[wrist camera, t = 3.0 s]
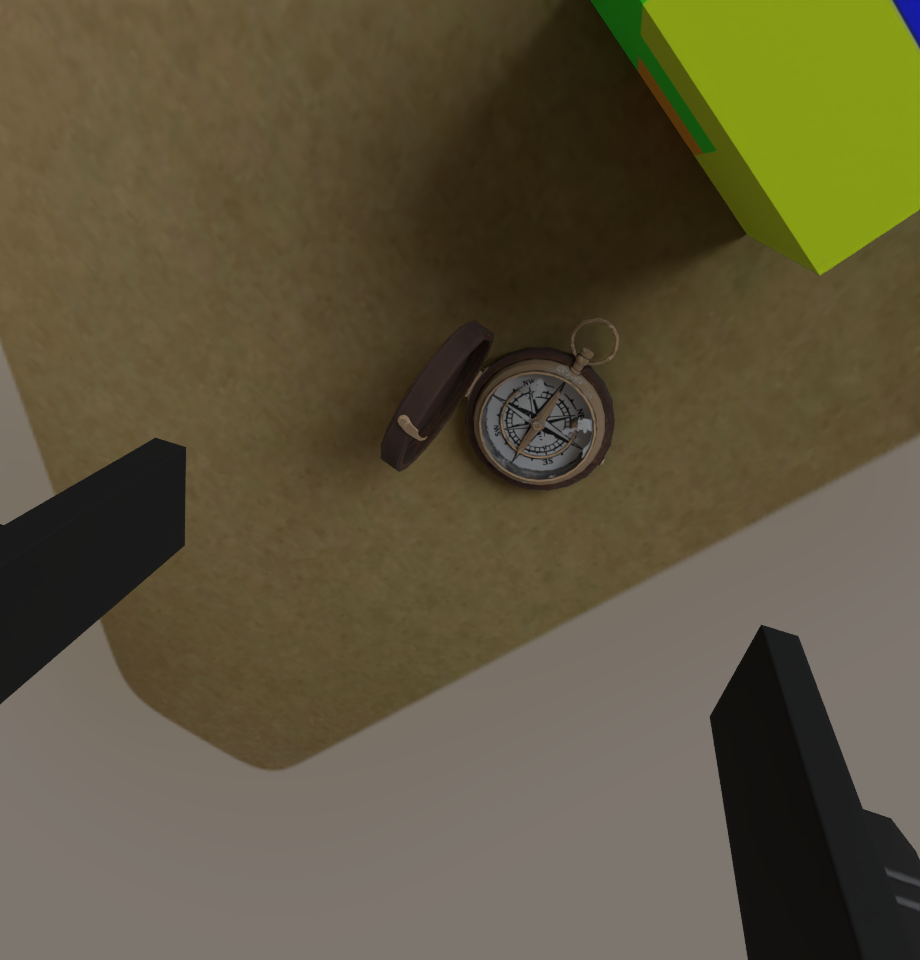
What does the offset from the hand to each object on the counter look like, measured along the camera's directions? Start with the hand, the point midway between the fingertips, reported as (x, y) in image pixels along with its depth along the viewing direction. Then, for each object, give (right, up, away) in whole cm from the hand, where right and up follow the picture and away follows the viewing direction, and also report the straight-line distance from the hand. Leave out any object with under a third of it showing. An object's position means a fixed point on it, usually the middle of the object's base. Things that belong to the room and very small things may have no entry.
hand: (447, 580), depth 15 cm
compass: (+4, +6, +13) cm, 15 cm away
